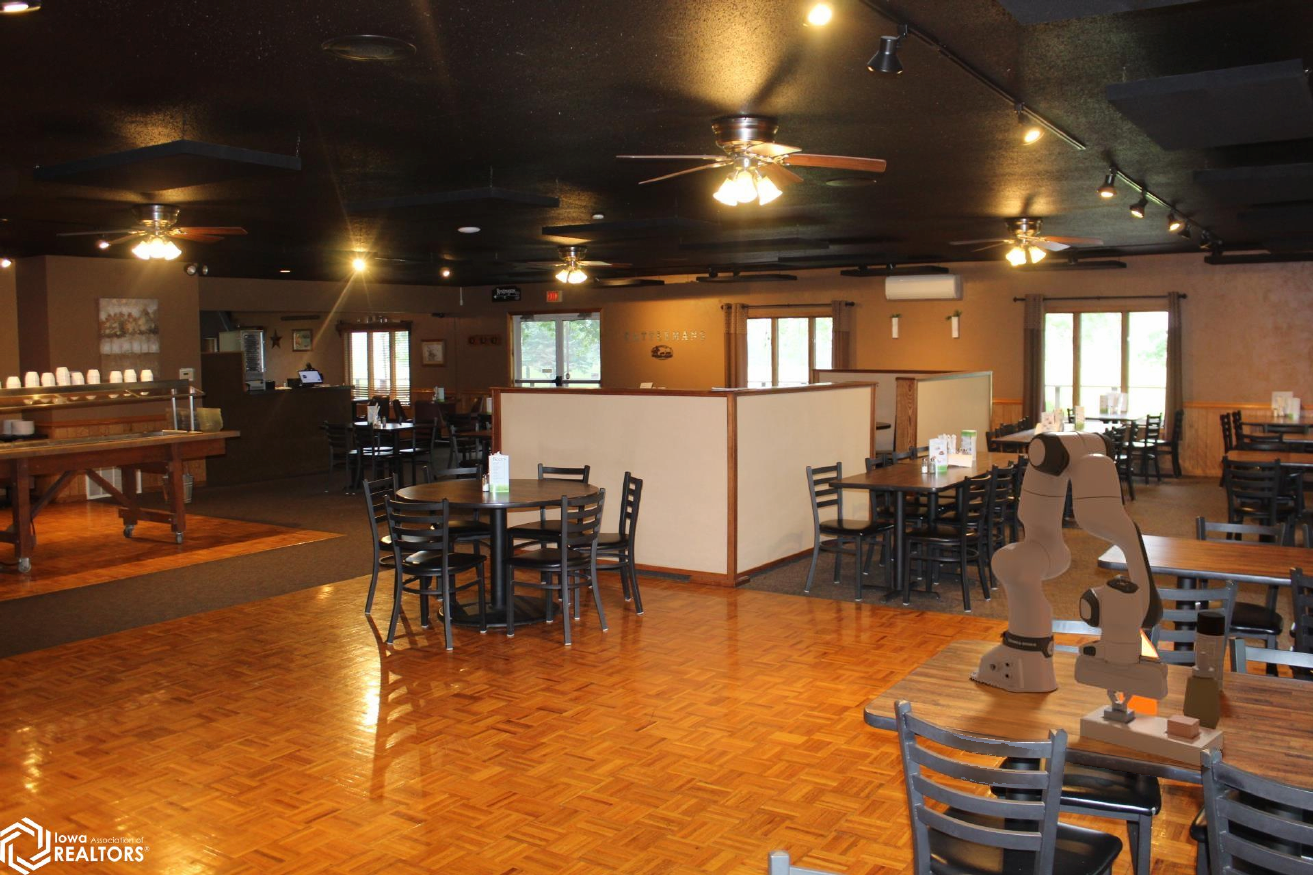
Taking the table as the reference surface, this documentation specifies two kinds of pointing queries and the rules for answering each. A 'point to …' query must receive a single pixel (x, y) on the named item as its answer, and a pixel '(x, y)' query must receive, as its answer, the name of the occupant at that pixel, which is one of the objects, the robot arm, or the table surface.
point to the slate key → (1119, 715)
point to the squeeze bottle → (1202, 695)
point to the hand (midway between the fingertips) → (1119, 709)
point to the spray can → (1211, 641)
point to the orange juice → (1139, 702)
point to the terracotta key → (1183, 726)
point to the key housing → (1149, 736)
